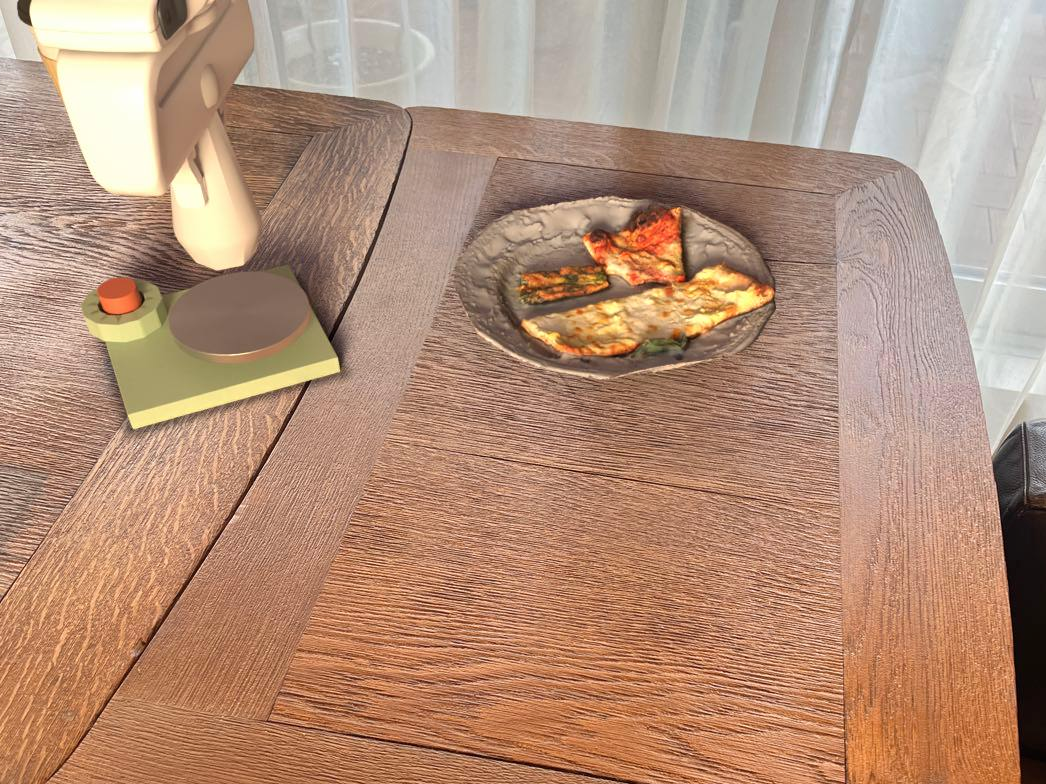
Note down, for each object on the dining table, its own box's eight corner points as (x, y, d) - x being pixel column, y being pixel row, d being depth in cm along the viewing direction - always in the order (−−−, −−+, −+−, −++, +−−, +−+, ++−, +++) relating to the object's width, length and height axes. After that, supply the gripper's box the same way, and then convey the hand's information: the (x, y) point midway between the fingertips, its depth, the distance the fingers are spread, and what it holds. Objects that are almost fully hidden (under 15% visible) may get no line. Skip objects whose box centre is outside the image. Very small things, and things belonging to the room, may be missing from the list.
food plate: (700, 200, 92) (705, 163, 89) (825, 358, 77) (835, 320, 74) (426, 247, 87) (423, 209, 84) (505, 426, 72) (504, 387, 69)
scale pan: (187, 379, 71) (184, 370, 70) (158, 300, 77) (155, 291, 76) (328, 341, 73) (326, 332, 73) (289, 268, 79) (287, 259, 79)
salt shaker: (165, 253, 71) (107, 62, 61) (234, 220, 74) (188, 33, 64) (215, 287, 68) (163, 94, 58) (285, 252, 71) (245, 62, 61)
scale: (121, 433, 71) (107, 400, 69) (88, 322, 80) (75, 290, 77) (340, 372, 76) (334, 339, 74) (288, 273, 84) (281, 241, 82)
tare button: (106, 320, 75) (100, 303, 74) (100, 300, 77) (93, 282, 76) (145, 311, 76) (139, 293, 75) (138, 290, 78) (132, 273, 77)
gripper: (153, -110, 64) (206, 108, 74) (12, 28, 50) (101, 272, 60) (253, -107, 63) (292, 112, 74) (139, 34, 50) (207, 277, 60)
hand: (206, 185), depth 67 cm, fingers closed on salt shaker, 3 cm apart
